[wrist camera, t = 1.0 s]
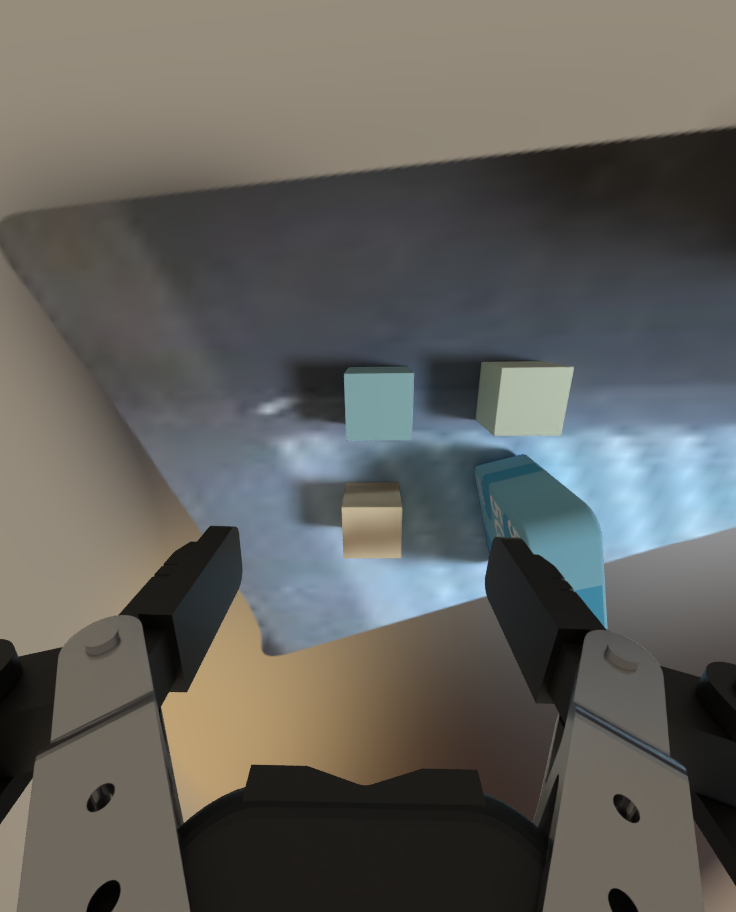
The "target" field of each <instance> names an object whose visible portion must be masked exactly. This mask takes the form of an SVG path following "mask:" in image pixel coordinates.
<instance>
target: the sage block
mask: <svg viewBox="0 0 736 912" xmlns="http://www.w3.org/2000/svg"><path fill="white" fill-rule="evenodd" d="M573 370H574V367H571V366H565V365H560V364H554V363H548V362H543V361H521V362H481V372H480V382H479V392H478V402H477V412H476V421H478V422H479V423H480V424H481V425H482V426H483V427H484V428H486V429H487V430H488V431H489V432H490V433H491V434H492V435H494V436H553V435H561V433H562V427H563V422H564V417H565V412H566V406H567V401H568V396H569V391H570V386H571V380H572V375H573Z"/></svg>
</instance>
